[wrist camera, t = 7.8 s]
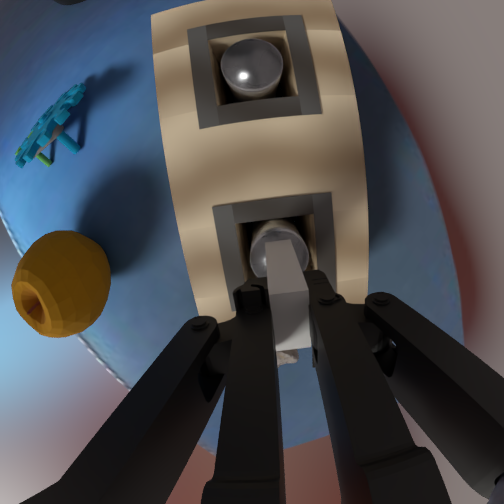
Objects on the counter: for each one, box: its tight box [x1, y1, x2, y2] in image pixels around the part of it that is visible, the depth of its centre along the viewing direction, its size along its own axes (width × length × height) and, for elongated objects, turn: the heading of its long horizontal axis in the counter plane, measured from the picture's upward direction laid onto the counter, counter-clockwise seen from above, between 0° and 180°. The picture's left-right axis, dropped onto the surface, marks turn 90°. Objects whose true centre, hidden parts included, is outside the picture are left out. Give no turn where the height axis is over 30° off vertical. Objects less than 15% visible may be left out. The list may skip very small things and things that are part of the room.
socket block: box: [151, 0, 369, 323], centre depth 19 cm, size 24×12×8 cm, turn 8°
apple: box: [11, 231, 111, 338], centre depth 21 cm, size 10×10×12 cm
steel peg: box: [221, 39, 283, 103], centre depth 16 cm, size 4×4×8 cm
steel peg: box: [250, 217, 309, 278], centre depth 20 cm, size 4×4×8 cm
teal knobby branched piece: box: [15, 83, 86, 168], centre depth 20 cm, size 11×6×10 cm
